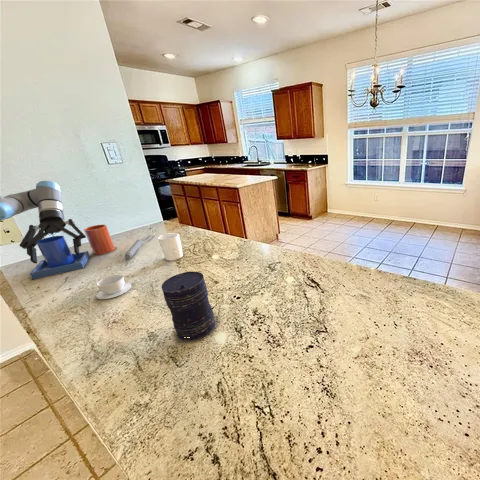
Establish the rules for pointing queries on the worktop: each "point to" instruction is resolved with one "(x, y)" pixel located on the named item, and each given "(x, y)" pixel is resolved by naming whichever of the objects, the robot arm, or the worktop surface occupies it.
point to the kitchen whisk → (135, 246)
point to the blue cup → (55, 251)
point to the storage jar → (189, 305)
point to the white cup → (171, 246)
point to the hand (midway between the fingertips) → (56, 257)
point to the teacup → (112, 287)
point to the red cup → (99, 239)
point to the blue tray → (44, 269)
